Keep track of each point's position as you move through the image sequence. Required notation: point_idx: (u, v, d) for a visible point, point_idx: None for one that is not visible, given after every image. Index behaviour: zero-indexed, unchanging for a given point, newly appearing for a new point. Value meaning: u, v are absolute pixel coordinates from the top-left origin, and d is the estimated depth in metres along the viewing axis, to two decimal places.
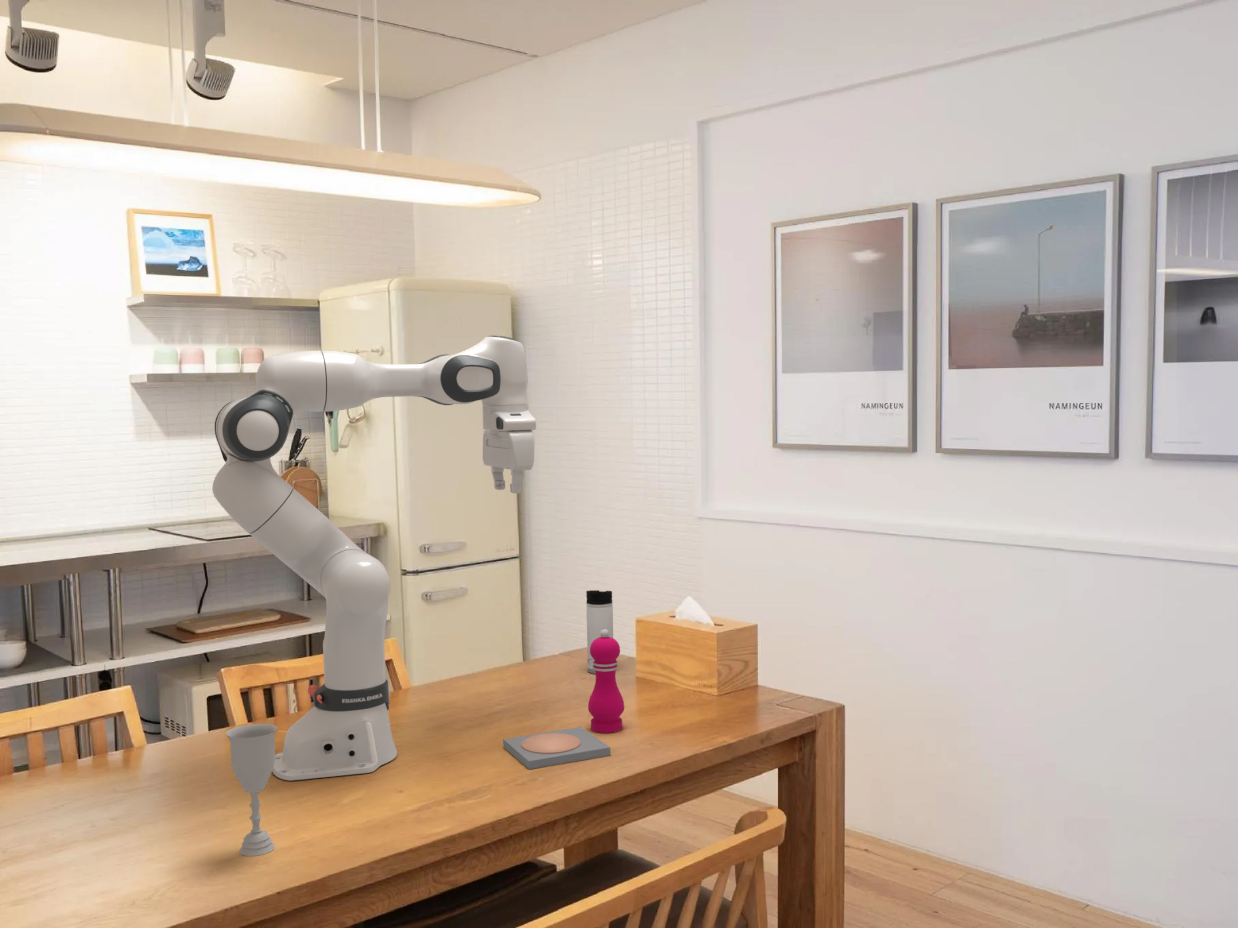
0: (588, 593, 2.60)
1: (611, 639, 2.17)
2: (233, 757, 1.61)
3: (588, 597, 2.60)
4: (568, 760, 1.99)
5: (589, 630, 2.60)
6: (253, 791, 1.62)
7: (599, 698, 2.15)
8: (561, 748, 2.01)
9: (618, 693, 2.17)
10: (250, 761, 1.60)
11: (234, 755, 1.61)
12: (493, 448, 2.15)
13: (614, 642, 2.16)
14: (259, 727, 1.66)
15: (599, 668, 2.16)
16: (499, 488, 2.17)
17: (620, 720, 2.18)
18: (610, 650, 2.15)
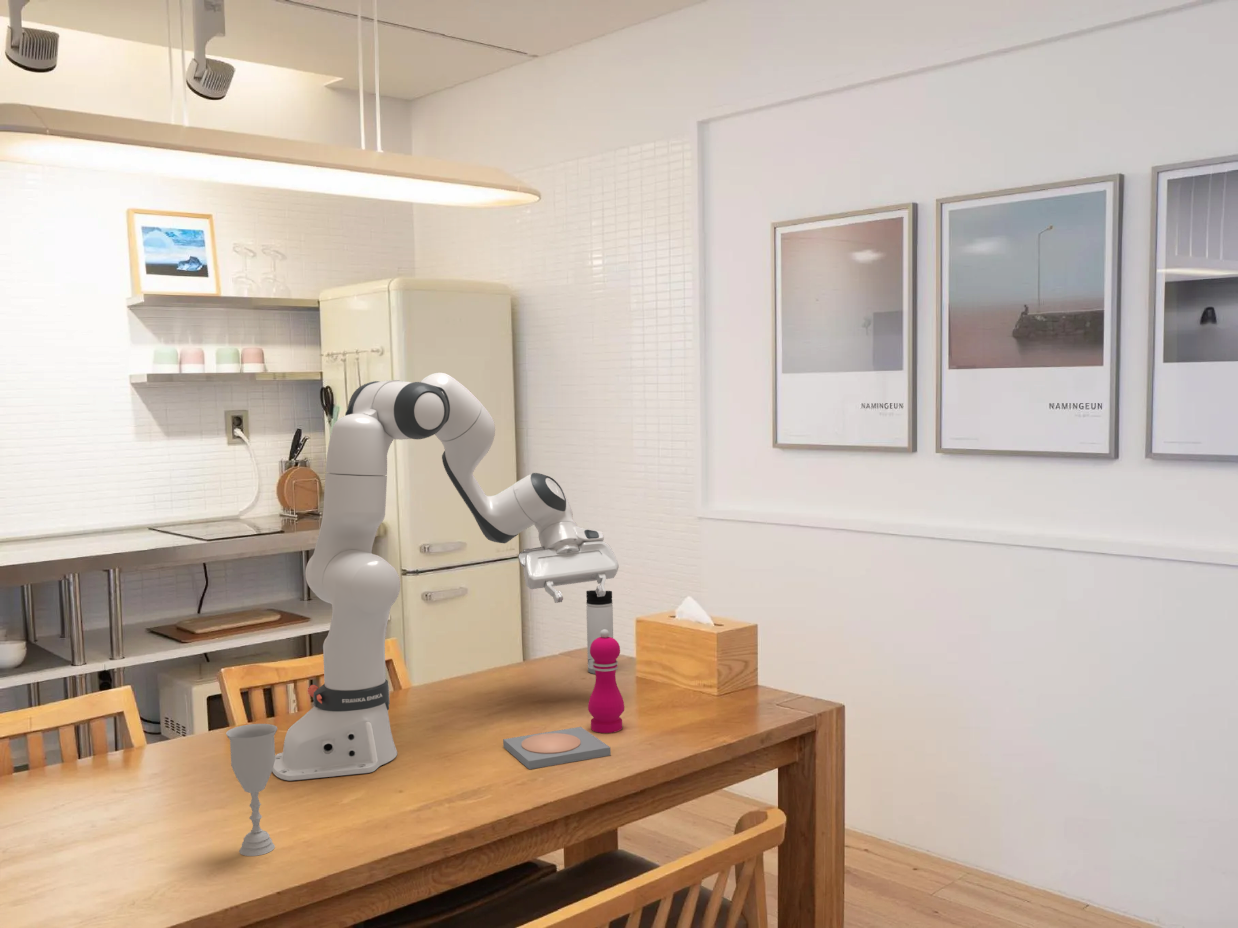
0: (588, 593, 2.60)
1: (611, 639, 2.17)
2: (233, 757, 1.61)
3: (588, 597, 2.60)
4: (568, 760, 1.99)
5: (589, 630, 2.60)
6: (253, 791, 1.62)
7: (599, 698, 2.15)
8: (561, 748, 2.01)
9: (618, 693, 2.17)
10: (250, 761, 1.60)
11: (234, 755, 1.61)
12: (559, 562, 2.30)
13: (614, 642, 2.16)
14: (259, 727, 1.66)
15: (599, 668, 2.16)
16: None
17: (620, 720, 2.18)
18: (610, 650, 2.15)
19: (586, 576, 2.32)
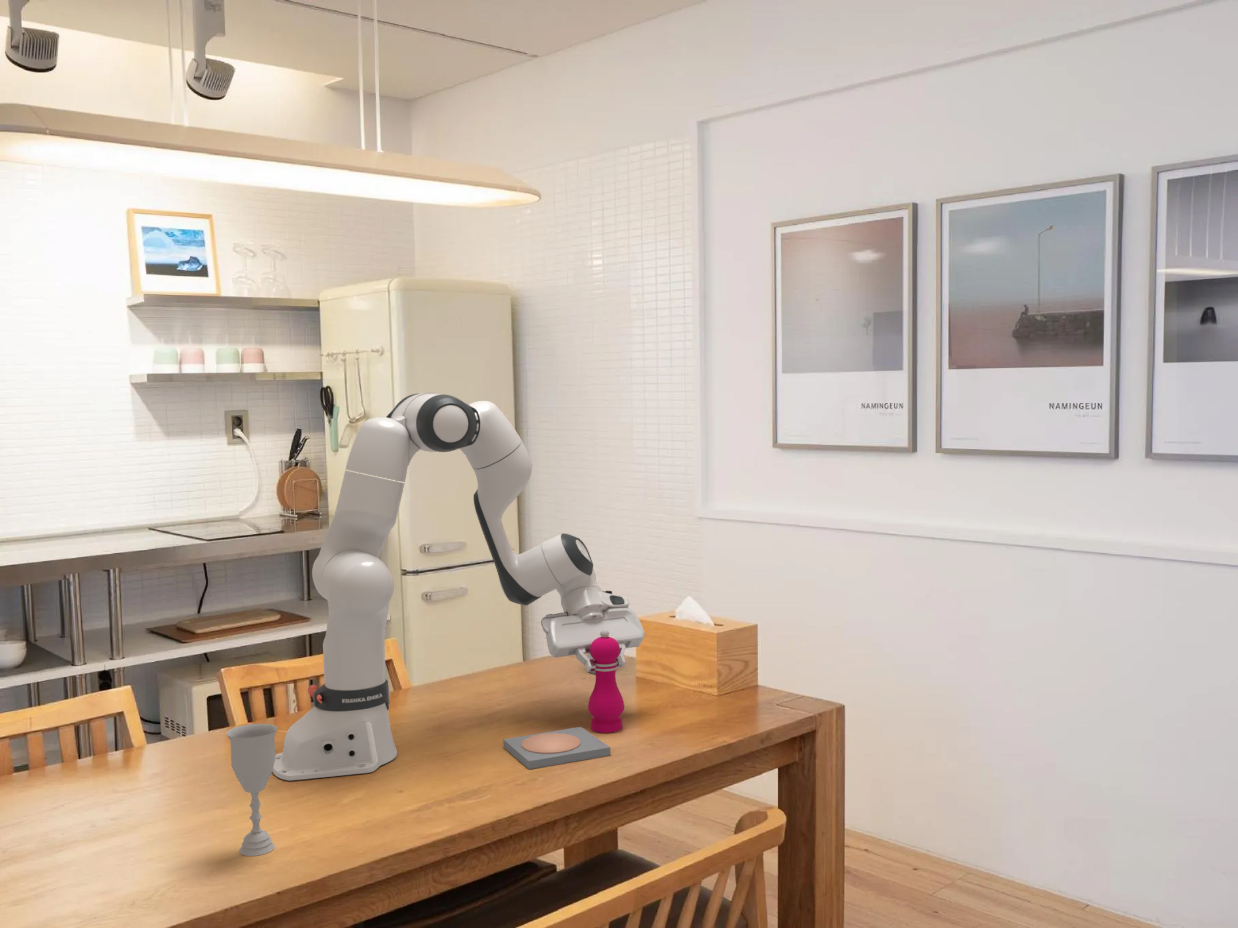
0: None
1: (611, 639, 2.17)
2: (233, 757, 1.61)
3: None
4: (568, 760, 1.99)
5: None
6: (253, 791, 1.62)
7: (599, 698, 2.15)
8: (561, 748, 2.01)
9: (618, 693, 2.17)
10: (251, 761, 1.60)
11: (234, 755, 1.61)
12: (584, 629, 2.20)
13: (614, 642, 2.16)
14: (259, 727, 1.66)
15: (599, 668, 2.16)
16: None
17: (620, 720, 2.18)
18: (610, 650, 2.15)
19: None
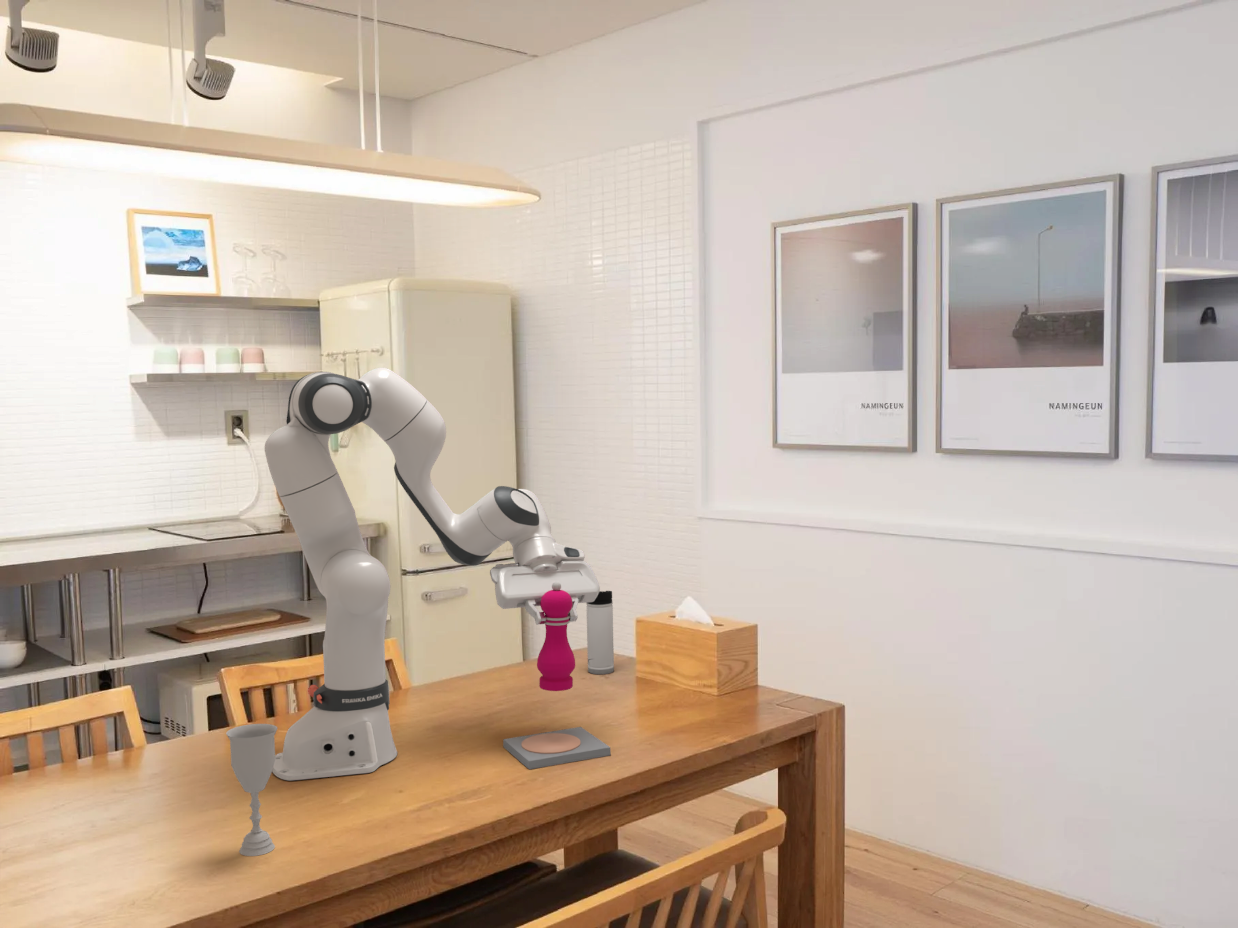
0: None
1: (563, 592, 2.05)
2: (233, 757, 1.61)
3: None
4: (568, 760, 1.99)
5: (589, 630, 2.60)
6: (253, 791, 1.62)
7: (548, 654, 2.03)
8: (561, 748, 2.01)
9: (569, 649, 2.05)
10: (251, 761, 1.60)
11: (234, 755, 1.61)
12: (535, 580, 2.08)
13: (566, 595, 2.04)
14: (259, 727, 1.66)
15: (549, 622, 2.04)
16: None
17: (570, 678, 2.06)
18: (561, 603, 2.03)
19: None
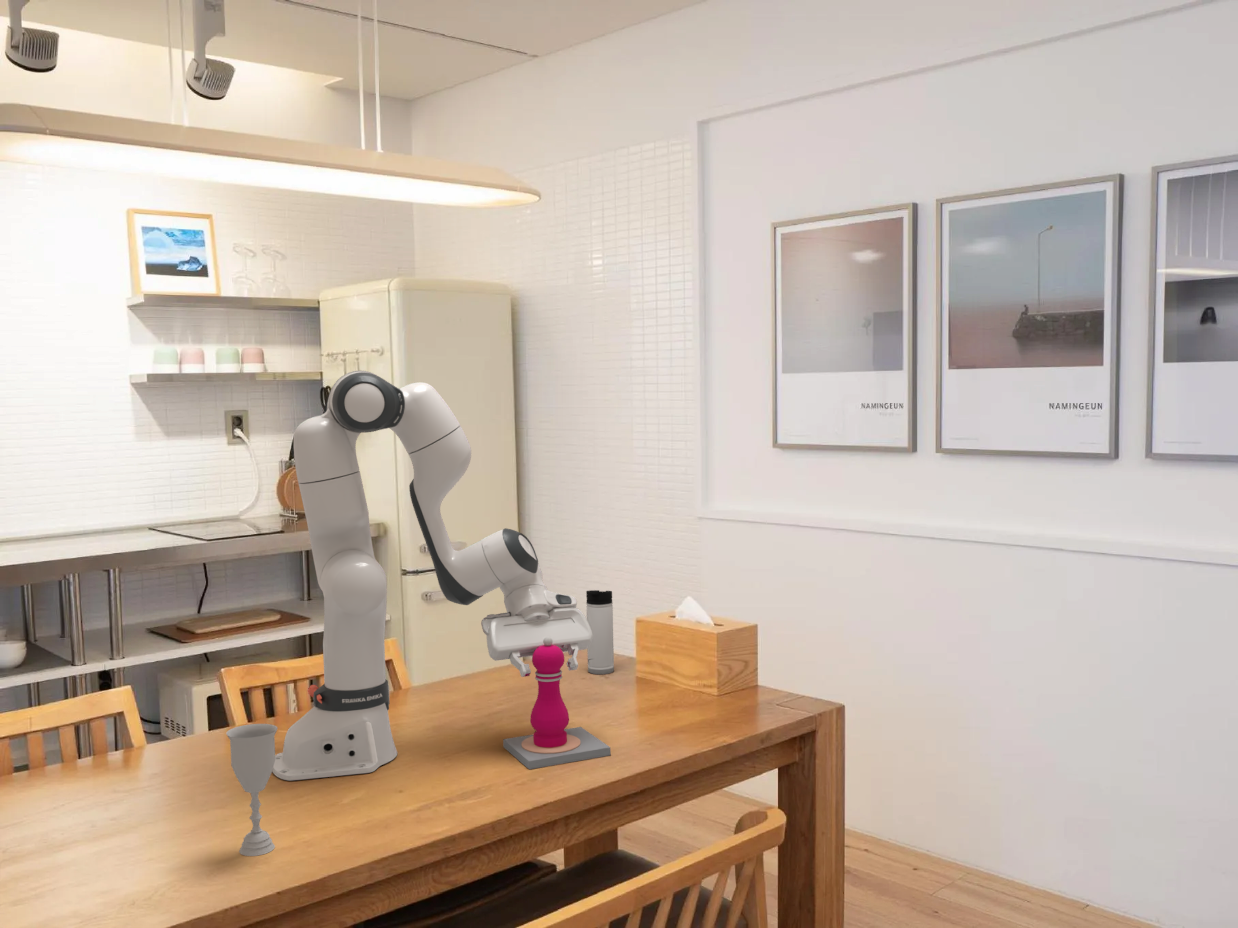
0: (588, 593, 2.60)
1: (554, 647, 2.03)
2: (233, 757, 1.61)
3: (588, 597, 2.60)
4: (568, 760, 1.99)
5: None
6: (253, 791, 1.62)
7: (541, 711, 2.02)
8: (561, 748, 2.01)
9: (562, 705, 2.03)
10: (251, 761, 1.60)
11: (234, 755, 1.61)
12: (527, 630, 2.06)
13: (558, 650, 2.03)
14: (259, 727, 1.66)
15: (541, 678, 2.02)
16: None
17: (564, 734, 2.04)
18: (553, 659, 2.01)
19: None
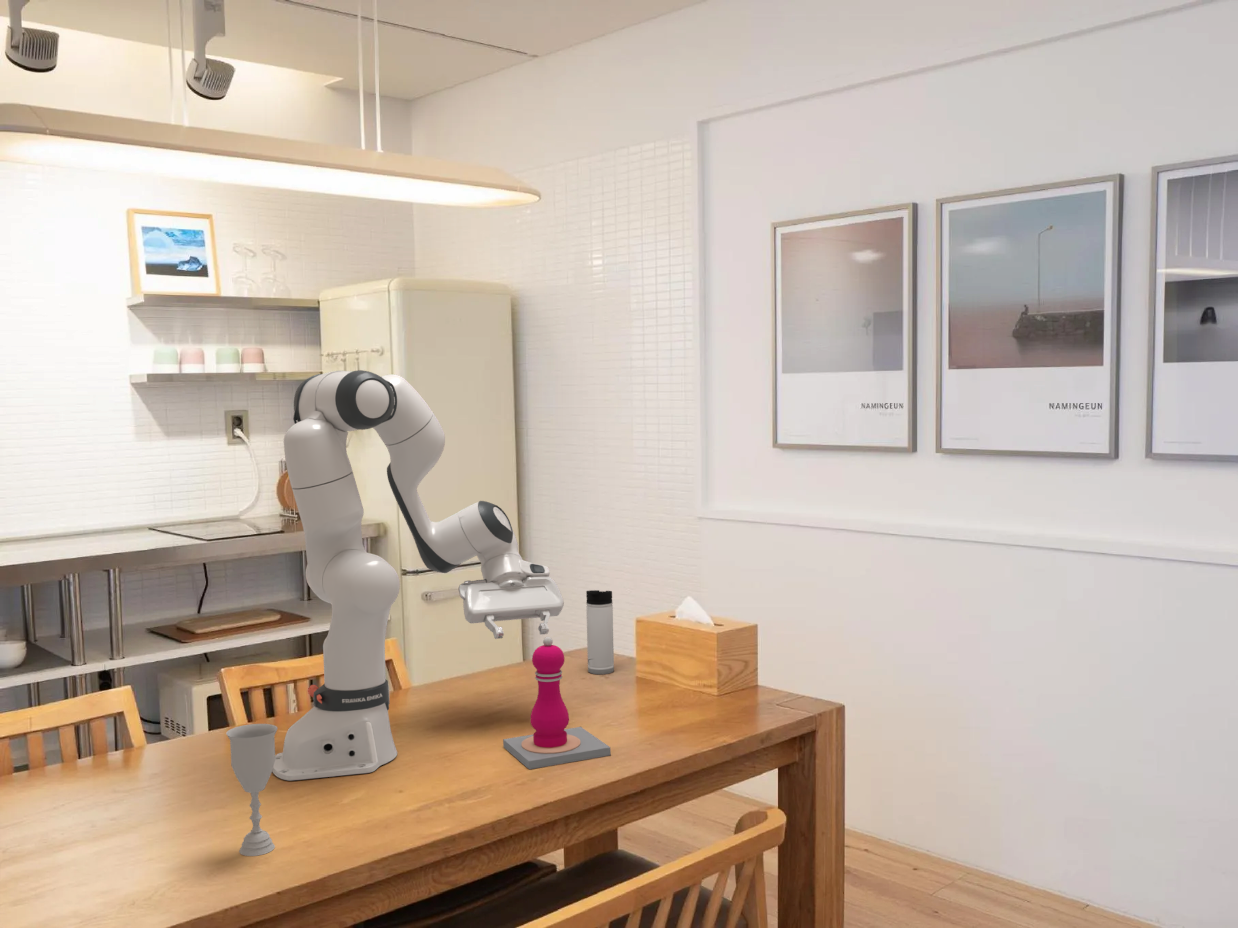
0: (588, 593, 2.60)
1: (555, 647, 2.03)
2: (233, 757, 1.61)
3: (588, 597, 2.60)
4: (568, 760, 1.99)
5: (589, 630, 2.60)
6: (253, 791, 1.62)
7: (541, 711, 2.02)
8: (561, 748, 2.01)
9: (562, 705, 2.03)
10: (251, 761, 1.60)
11: (234, 755, 1.61)
12: (501, 596, 2.19)
13: (558, 650, 2.02)
14: (259, 727, 1.66)
15: (541, 678, 2.02)
16: None
17: (564, 734, 2.04)
18: (553, 659, 2.01)
19: (529, 612, 2.21)
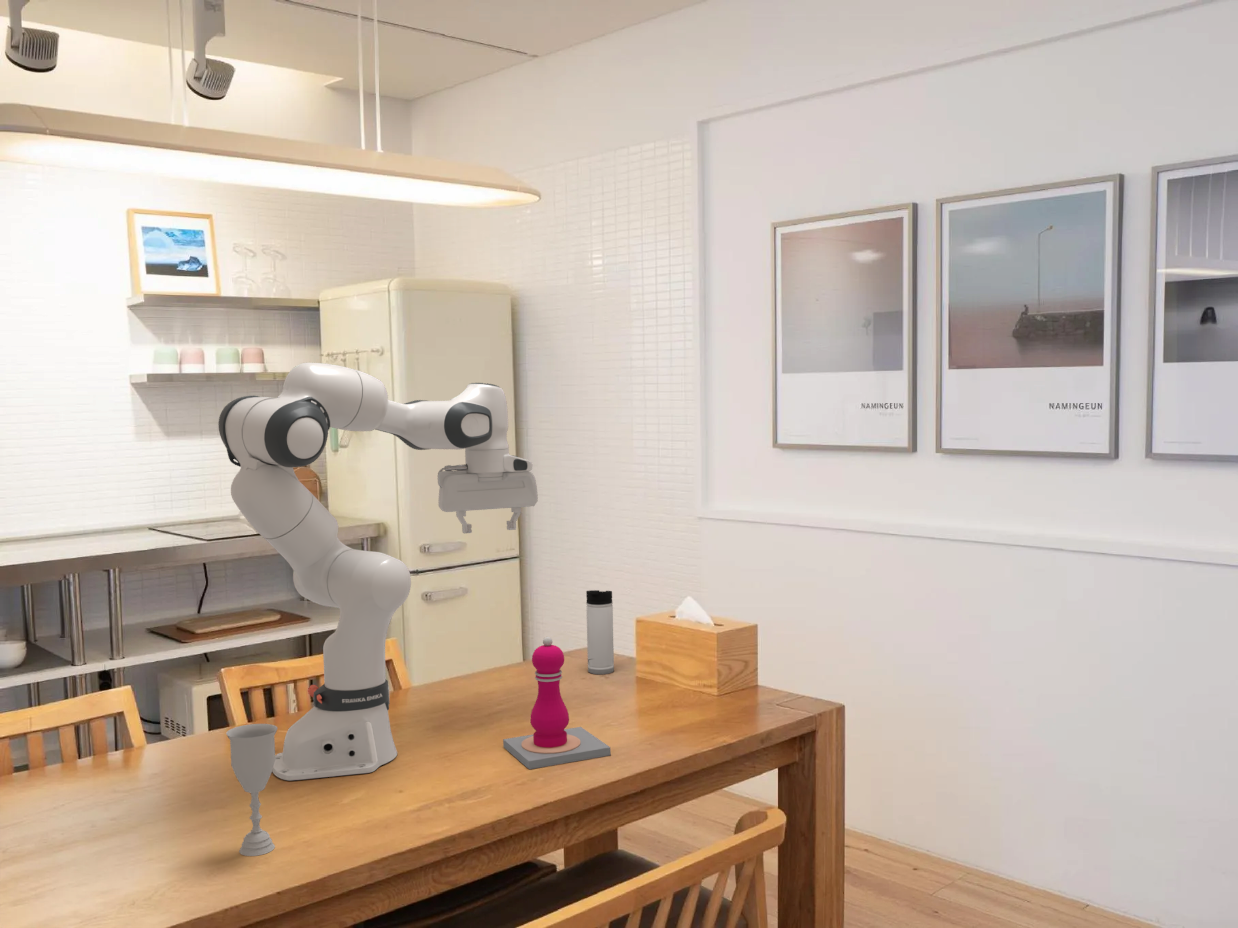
0: (588, 593, 2.60)
1: (554, 647, 2.03)
2: (233, 757, 1.61)
3: (588, 597, 2.60)
4: (568, 760, 1.99)
5: (589, 630, 2.60)
6: (253, 791, 1.62)
7: (541, 711, 2.02)
8: (561, 748, 2.01)
9: (562, 705, 2.03)
10: (251, 761, 1.60)
11: (234, 755, 1.61)
12: (478, 491, 2.20)
13: (557, 650, 2.02)
14: (259, 727, 1.66)
15: (541, 678, 2.02)
16: None
17: (564, 734, 2.04)
18: (553, 659, 2.01)
19: None
